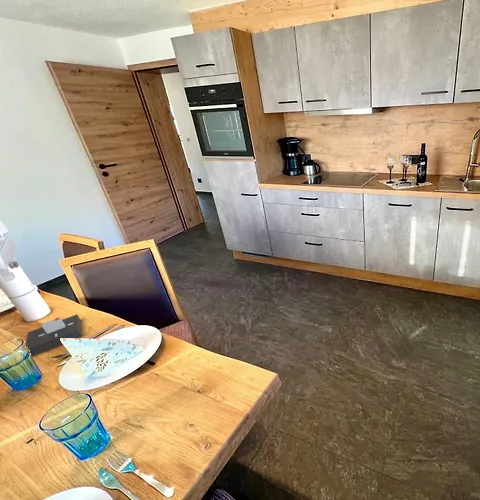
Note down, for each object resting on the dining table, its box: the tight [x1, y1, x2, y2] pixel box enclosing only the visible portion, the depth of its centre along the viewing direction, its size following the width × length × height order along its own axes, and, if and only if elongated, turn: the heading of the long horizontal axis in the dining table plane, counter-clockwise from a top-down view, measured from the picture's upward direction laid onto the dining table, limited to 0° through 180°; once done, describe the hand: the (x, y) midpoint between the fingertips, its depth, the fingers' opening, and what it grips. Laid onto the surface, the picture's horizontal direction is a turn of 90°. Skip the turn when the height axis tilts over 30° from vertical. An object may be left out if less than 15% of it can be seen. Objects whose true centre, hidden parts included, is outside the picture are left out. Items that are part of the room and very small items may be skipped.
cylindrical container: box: [0, 264, 51, 322], centre depth 105 cm, size 7×7×25 cm
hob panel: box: [25, 314, 83, 357], centre depth 98 cm, size 13×11×3 cm
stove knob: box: [41, 317, 65, 334], centre depth 97 cm, size 5×2×4 cm, turn 131°
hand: (13, 273), depth 85 cm, fingers open, 8 cm apart
